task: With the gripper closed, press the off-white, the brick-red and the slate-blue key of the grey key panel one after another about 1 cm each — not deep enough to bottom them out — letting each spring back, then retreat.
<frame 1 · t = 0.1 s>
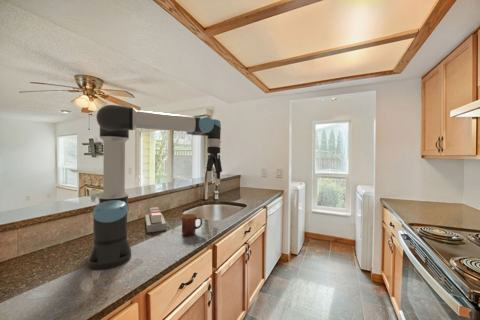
hand: (213, 183, 117), 28 cm above the worktop, fingers open, 13 cm apart
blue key: (154, 211, 133), point 7 cm above the worktop, slide at 0.2 cm
mug: (191, 234, 112), on the worktop
red key: (155, 214, 126), point 7 cm above the worktop, slide at 0.1 cm
white key: (156, 217, 119), point 7 cm above the worktop, slide at 0.1 cm
key panel: (155, 225, 126), on the worktop
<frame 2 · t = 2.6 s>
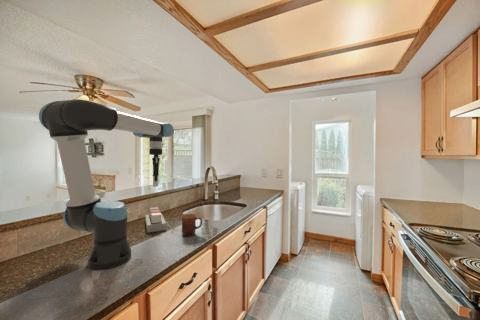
hand: (155, 186, 126), 24 cm above the worktop, fingers closed
nothing on the worktop moved.
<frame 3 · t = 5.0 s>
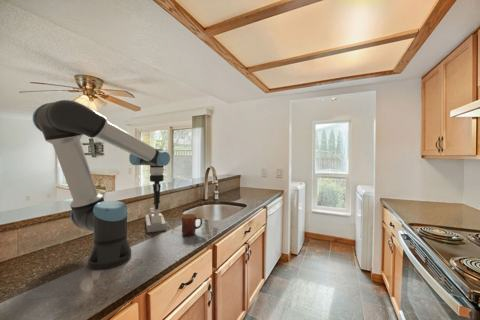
hand: (156, 214, 119), 9 cm above the worktop, fingers closed
white key: (156, 218, 119), point 6 cm above the worktop, slide at 0.6 cm, touching gripper
everything else where it was.
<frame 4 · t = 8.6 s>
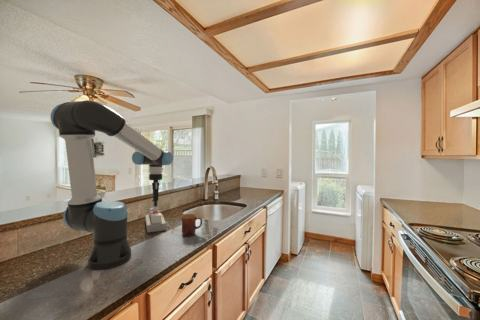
hand: (155, 211, 126), 9 cm above the worktop, fingers closed
red key: (155, 215, 126), point 6 cm above the worktop, slide at 0.6 cm, touching gripper
white key: (156, 218, 119), point 6 cm above the worktop, slide at 0.5 cm
everything else where it was.
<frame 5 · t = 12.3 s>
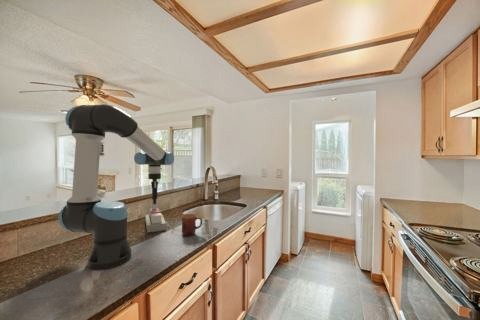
hand: (154, 208, 133), 9 cm above the worktop, fingers closed
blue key: (154, 212, 133), point 6 cm above the worktop, slide at 0.8 cm, touching gripper
red key: (155, 214, 126), point 7 cm above the worktop, slide at 0.2 cm
everything else where it was.
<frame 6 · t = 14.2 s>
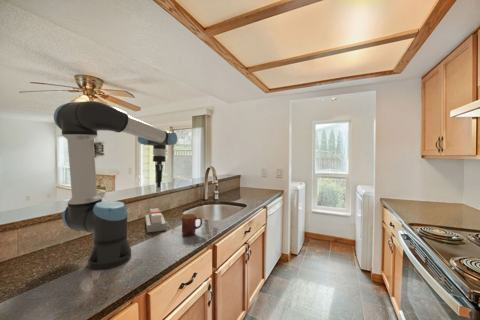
hand: (158, 192, 129), 20 cm above the worktop, fingers closed
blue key: (154, 212, 133), point 6 cm above the worktop, slide at 1.0 cm
everything else where it was.
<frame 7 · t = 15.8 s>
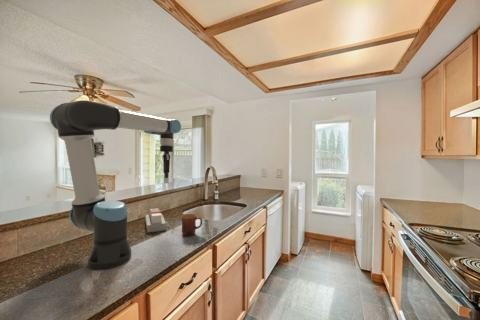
hand: (166, 183, 127), 26 cm above the worktop, fingers closed
nothing on the worktop moved.
at the end: white key slide at 0.5 cm; red key slide at 0.2 cm; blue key slide at 1.0 cm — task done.
